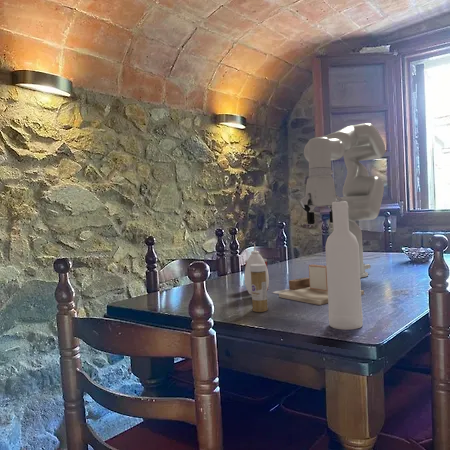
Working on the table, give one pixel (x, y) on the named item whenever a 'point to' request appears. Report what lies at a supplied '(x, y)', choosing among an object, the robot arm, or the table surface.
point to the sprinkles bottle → (259, 287)
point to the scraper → (296, 285)
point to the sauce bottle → (254, 259)
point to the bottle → (343, 273)
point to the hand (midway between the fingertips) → (322, 223)
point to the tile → (318, 277)
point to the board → (308, 295)
